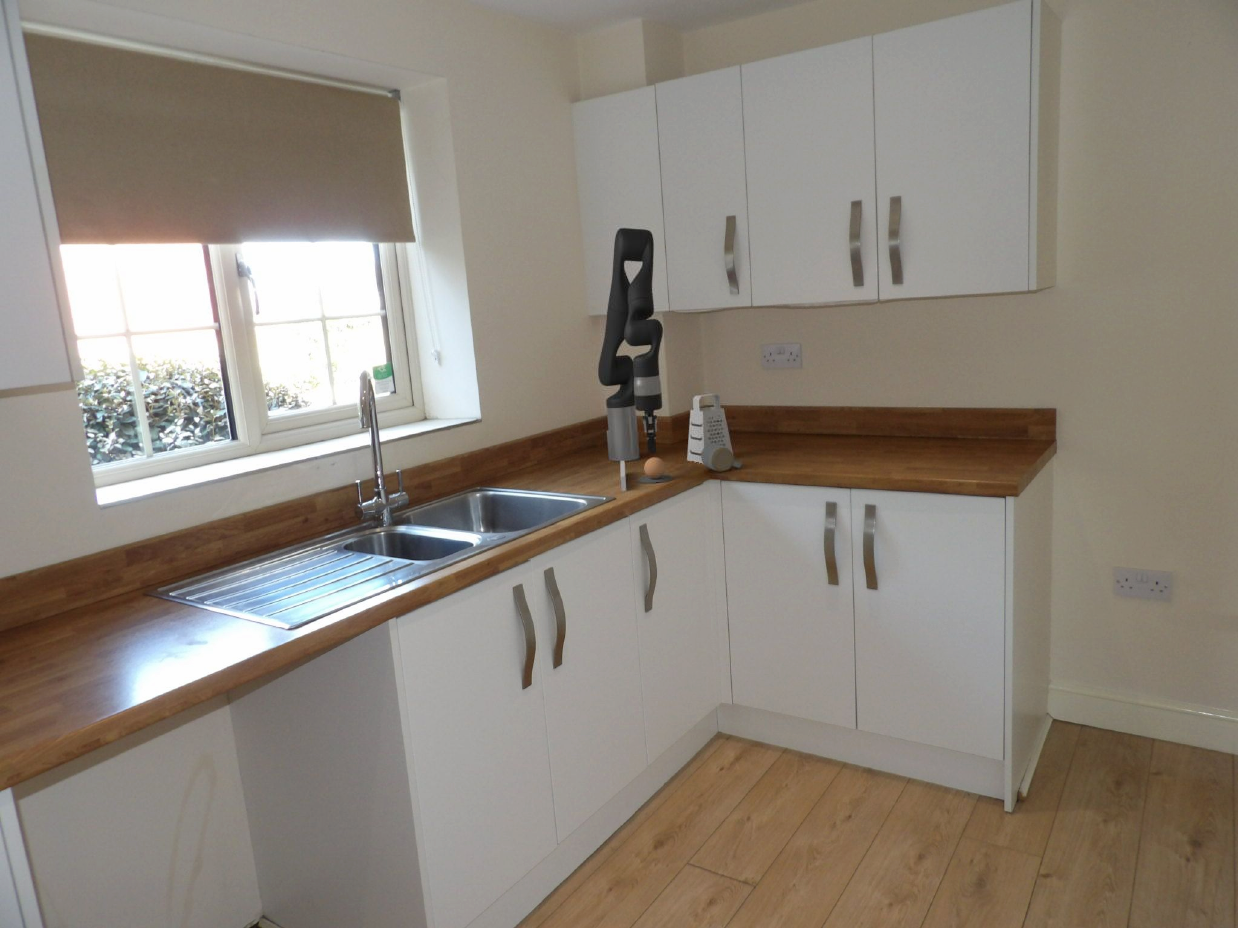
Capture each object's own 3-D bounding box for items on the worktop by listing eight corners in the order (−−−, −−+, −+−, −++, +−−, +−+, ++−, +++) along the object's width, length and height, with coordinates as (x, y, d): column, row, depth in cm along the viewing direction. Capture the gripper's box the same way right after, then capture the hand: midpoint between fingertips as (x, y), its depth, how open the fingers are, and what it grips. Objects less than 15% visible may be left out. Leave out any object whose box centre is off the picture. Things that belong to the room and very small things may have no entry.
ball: (640, 479, 253) (638, 458, 252) (655, 475, 257) (653, 455, 256) (656, 481, 249) (654, 460, 248) (670, 477, 253) (669, 456, 252)
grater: (734, 459, 274) (730, 394, 270) (704, 464, 270) (700, 398, 266) (716, 455, 283) (711, 392, 280) (687, 460, 279) (682, 396, 276)
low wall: (621, 474, 265) (620, 461, 264) (625, 474, 265) (624, 460, 264) (621, 491, 242) (620, 476, 241) (626, 490, 241) (625, 476, 241)
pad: (630, 481, 253) (630, 480, 253) (654, 474, 260) (654, 473, 260) (656, 484, 246) (656, 483, 246) (680, 477, 253) (680, 476, 253)
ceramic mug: (712, 474, 254) (711, 447, 253) (701, 469, 262) (700, 443, 261) (746, 469, 257) (745, 443, 256) (734, 465, 265) (733, 439, 264)
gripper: (662, 394, 242) (666, 453, 245) (660, 388, 256) (664, 444, 259) (634, 396, 242) (638, 455, 245) (634, 390, 256) (638, 446, 259)
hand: (651, 449), depth 252 cm, fingers open, 8 cm apart
